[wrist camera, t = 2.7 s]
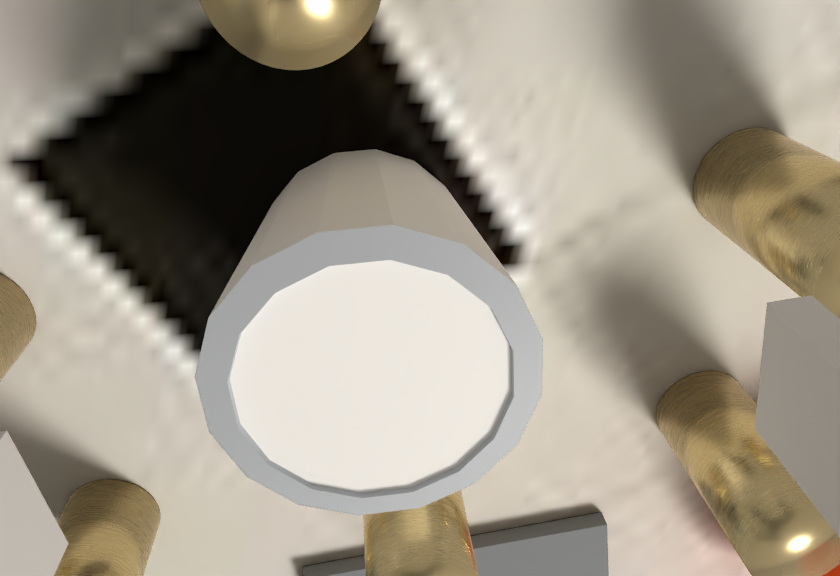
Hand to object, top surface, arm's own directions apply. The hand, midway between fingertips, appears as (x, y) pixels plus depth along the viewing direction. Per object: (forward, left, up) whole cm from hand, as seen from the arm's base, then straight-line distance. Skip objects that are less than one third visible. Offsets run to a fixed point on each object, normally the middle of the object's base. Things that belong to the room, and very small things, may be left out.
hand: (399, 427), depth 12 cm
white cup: (0, 0, -9) cm, 9 cm away
